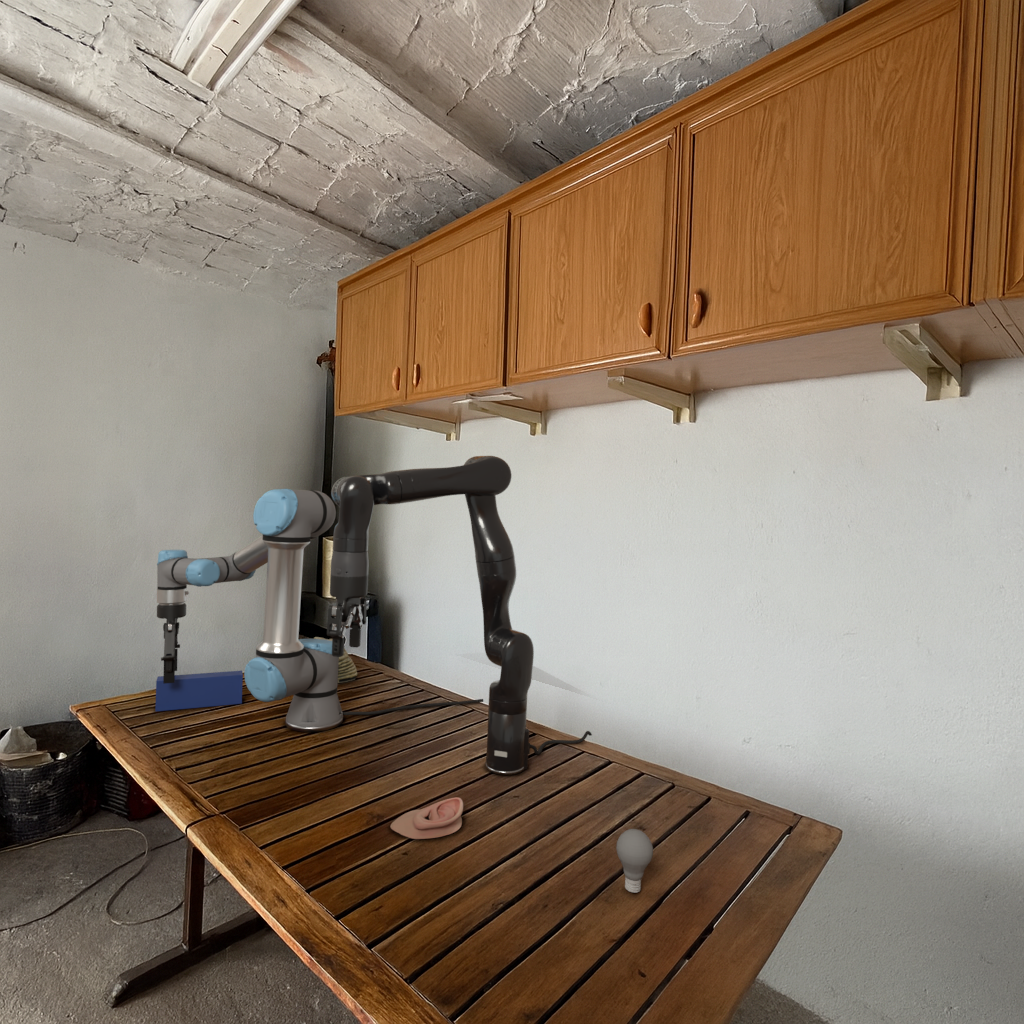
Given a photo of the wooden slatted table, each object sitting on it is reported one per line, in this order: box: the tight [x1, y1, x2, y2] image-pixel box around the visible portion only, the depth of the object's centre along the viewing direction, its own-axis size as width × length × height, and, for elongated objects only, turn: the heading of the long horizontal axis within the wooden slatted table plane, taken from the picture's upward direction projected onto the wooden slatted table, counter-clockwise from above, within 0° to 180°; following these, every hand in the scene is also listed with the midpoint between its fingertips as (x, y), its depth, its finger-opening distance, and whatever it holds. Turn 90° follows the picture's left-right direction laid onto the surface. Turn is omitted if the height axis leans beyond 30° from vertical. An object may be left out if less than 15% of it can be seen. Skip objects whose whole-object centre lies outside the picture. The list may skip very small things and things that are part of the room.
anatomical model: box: [390, 797, 464, 840], centre depth 124 cm, size 13×4×12 cm
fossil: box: [313, 636, 359, 684], centre depth 215 cm, size 9×18×15 cm, turn 132°
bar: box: [154, 670, 244, 712], centre depth 187 cm, size 23×5×9 cm, turn 115°
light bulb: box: [615, 828, 654, 894], centre depth 106 cm, size 6×6×10 cm
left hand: (170, 676), depth 183 cm, fingers open, 13 cm apart
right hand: (346, 651), depth 130 cm, fingers open, 8 cm apart
